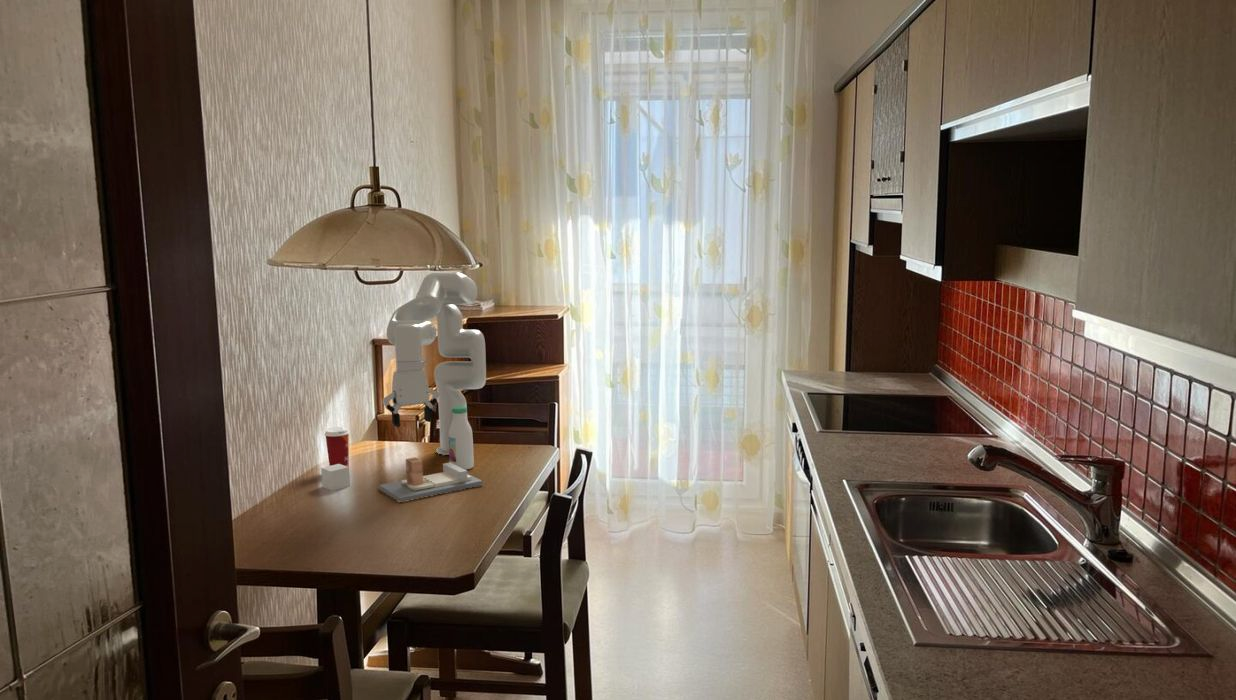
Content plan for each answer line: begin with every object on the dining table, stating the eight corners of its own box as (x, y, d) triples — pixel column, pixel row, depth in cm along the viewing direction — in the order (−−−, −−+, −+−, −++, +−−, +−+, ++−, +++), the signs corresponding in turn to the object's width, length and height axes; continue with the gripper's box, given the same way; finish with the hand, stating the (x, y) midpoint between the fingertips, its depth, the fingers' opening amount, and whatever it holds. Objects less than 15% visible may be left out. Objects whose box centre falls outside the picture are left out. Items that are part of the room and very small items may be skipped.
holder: (379, 489, 262) (378, 473, 262) (458, 473, 278) (458, 458, 277) (400, 503, 250) (399, 486, 249) (482, 485, 265) (481, 469, 264)
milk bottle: (475, 464, 289) (472, 404, 286) (472, 470, 281) (469, 409, 278) (451, 464, 288) (449, 405, 285) (448, 471, 281) (445, 410, 278)
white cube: (332, 490, 263) (330, 471, 262) (322, 487, 267) (320, 467, 266) (350, 486, 267) (349, 467, 266) (340, 482, 271) (339, 463, 270)
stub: (401, 483, 263) (399, 457, 262) (420, 479, 267) (418, 454, 265) (414, 490, 255) (413, 464, 254) (433, 486, 259) (432, 461, 257)
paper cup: (355, 472, 282) (352, 429, 280) (331, 476, 277) (328, 433, 275) (346, 467, 288) (344, 425, 286) (323, 471, 283) (320, 429, 281)
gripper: (431, 361, 263) (434, 417, 266) (376, 368, 253) (379, 425, 256) (442, 364, 257) (445, 421, 260) (385, 371, 247) (389, 430, 250)
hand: (412, 423), depth 258 cm, fingers open, 9 cm apart
